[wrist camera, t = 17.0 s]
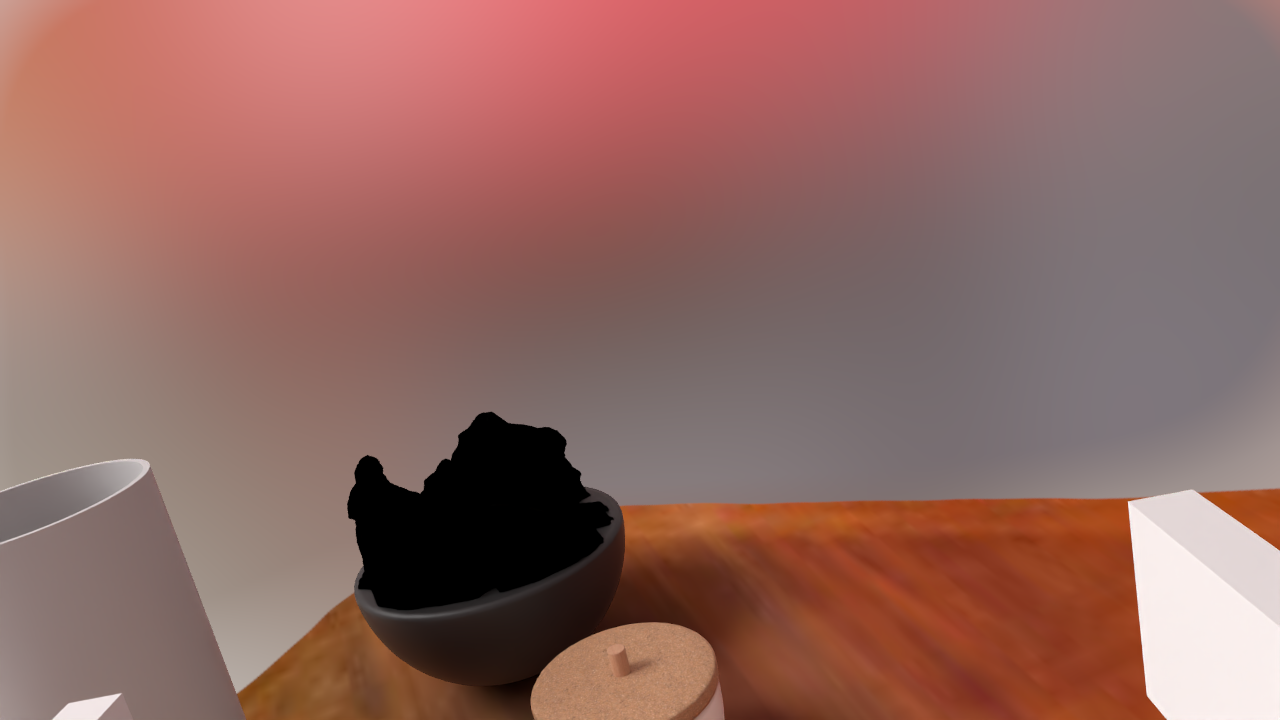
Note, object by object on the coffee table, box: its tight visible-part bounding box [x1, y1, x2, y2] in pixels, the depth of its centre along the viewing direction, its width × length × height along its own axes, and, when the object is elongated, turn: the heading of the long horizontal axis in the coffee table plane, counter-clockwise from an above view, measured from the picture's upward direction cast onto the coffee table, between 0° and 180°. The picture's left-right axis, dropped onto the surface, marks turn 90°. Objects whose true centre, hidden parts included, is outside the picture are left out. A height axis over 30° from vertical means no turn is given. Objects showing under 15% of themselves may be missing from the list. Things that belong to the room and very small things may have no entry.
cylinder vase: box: [0, 459, 246, 720], centre depth 51 cm, size 12×12×25 cm
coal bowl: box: [347, 412, 625, 686], centre depth 68 cm, size 20×20×19 cm
